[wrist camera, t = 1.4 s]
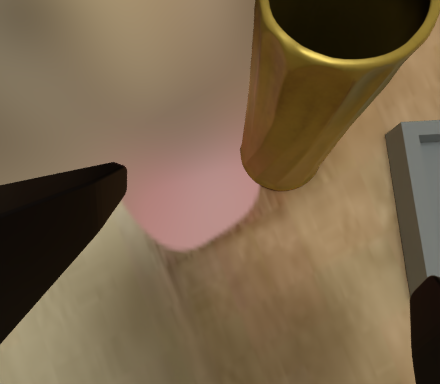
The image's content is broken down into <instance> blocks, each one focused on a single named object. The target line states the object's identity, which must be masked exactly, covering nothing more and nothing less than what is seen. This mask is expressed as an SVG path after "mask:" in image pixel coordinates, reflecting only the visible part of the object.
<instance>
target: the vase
mask: <svg viewBox="0 0 440 384" xmlns="http://www.w3.org/2000/svg"><path fill="white" fill-rule="evenodd" d="M439 12H440V0H255V8H254V29H253V42H252V58H251V68H250V83H249V93H248V103H247V110H246V118H245V125H244V133H243V140H242V145H241V148H240V153H241V160H242V164H243V167H244V168H245V170H246V172H247V173H248V175H249V176H250V177H251V178H252V179H253V180H254V181H255V182H256V183H258V184H260V185H261V186H264V187H266V188H269V189H273V190H277V191H285V190H292V189H296V188H298V187H301V186H302V185H304V184H305V183H307V182H308V181H309V180H310V179H311V178H312V177H313V176H314V175H315V173H316V172H317V170H318V168H319V166H320V164H321V163H322V162H323V161H324V159H325V158H326V157H327V156H328V154H329V153H330V152H331V150H332V149H333V148H334V146H335V145H336V144H337V142H338V141H339V140H340V139H341V137H342V136H343V135H344V134H345V133H346V131H347V130H348V129H349V127H350V126H351V125H352V124H353V123H354V121H355V120H356V119H357V118H358V117H359V116H360V115H361V114H362V113H363V111H364V110H365V109H366V108H367V107H368V106H369V105H370V104H371V102H372V101H373V100H374V99H375V98H376V97H377V96H378V94H379V93H380V92H381V91H382V90H383V89H384V88H385V87H386V85H387V84H388V83H389V82H390V80H391V79H392V77H393V76H394V75H395V73H396V72H397V71H398V69H399V68H400V66H401V65H402V64H403V63H404V62H405V61H406V60H407V59H408V58H409V57H410V56H411V55H412V54H413V53H414V52H415V51H416V50H417V49H418V48H419V47H420V46H421V45H422V44H423V43H424V42H425V40H426V39H427V38H428V36H429V35H430V33H431V31H432V29H433V28H434V26H435V23H436V21H437V18H438V15H439Z"/></svg>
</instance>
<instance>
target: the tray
mask: <svg viewBox="0 0 440 384" xmlns="http://www.w3.org/2000/svg"><path fill="white" fill-rule="evenodd" d="M385 137H386V143H387V150H388V156H389V163H390V169H391V175H392V182H393V188H394V195H395V201H396V208H397V214H398V220H399V227H400V233H401V240H402V246H403V253H404V259H405V266H406V272H407V278H408V285H409V291H410V297H411V295H412V293H413V291H414V290H415V289H416V288H417V287H418V286H419V285H420V284H421V283H422V282H423V281H424V280H425V279H426V278H427V277H429V276H431V275H435V276H438V277H440V120H432V121H414V122H401V123H399V124H398V125H397V126H396V127H394V128H393V129H392V130H391V131H389V132H388V133H387V134H386V135H385Z"/></svg>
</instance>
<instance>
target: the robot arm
mask: <svg viewBox="0 0 440 384" xmlns="http://www.w3.org/2000/svg"><path fill="white" fill-rule="evenodd" d="M126 190H127V169H126V167H125V166H123V165H121V164H118V163H115V162H111V163H106V164H102V165H97V166H92V167H87V168H83V169H77V170H73V171H68V172H63V173H58V174H53V175H48V176H43V177H38V178H34V179H29V180H24V181H19V182H14V183H10V184H5V185H0V344H1V343H2V342H3V340H4V339H5V338H6V337H7V336H8V335H9V334H10V332H11V331H12V330H13V329H14V328H15V327H16V326H17V325H18V323H19V322H20V321H21V320H22V319H23V318H24V317H25V315H26V314H27V313H28V312H29V311H30V310H31V309H32V307H33V306H34V305H35V304H36V303H37V302H38V301H39V300H40V298H41V297H42V296H43V295H44V294H45V293H46V292H47V290H48V289H49V288H50V287H51V286H52V285H53V284H54V282H55V281H56V280H57V279H58V278H59V277H60V276H61V274H62V273H63V272H64V271H65V270H66V269H67V268H68V267H69V265H70V264H71V263H72V262H73V261H74V260H75V259H76V257H77V256H78V255H79V254H80V253H81V252H82V251H83V249H84V248H85V247H86V246H87V245H88V244H89V243H90V242H91V240H92V239H93V238H94V237H95V236H96V235H97V233H98V232H99V231H100V229H101V228H102V227H103V225H104V224H105V223H106V221H107V220H108V218H109V217H110V215H111V214H112V212H113V211H114V210H115V208H116V207H117V205H118V204H119V202H120V201H121V200H122V198H123V197H124V195H125V193H126ZM410 321H411V348H412V359H413V367H414V374H415V381H416V384H440V277H438V276H435V275H431V276H429V277H427V278H426V279H425V280H424V281H423V282H422V283H421V284H420V285H419V286H418V287H417V288H416V289H415V290H414V291H413V293H412V295H411V297H410Z"/></svg>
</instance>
